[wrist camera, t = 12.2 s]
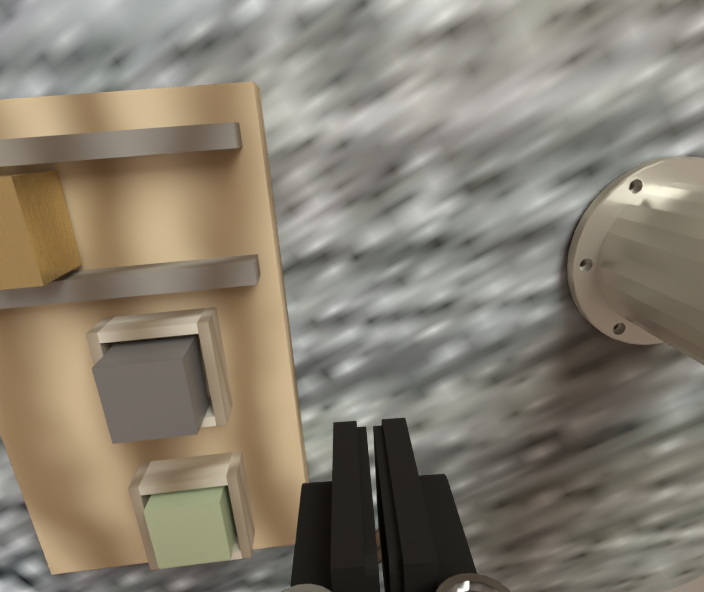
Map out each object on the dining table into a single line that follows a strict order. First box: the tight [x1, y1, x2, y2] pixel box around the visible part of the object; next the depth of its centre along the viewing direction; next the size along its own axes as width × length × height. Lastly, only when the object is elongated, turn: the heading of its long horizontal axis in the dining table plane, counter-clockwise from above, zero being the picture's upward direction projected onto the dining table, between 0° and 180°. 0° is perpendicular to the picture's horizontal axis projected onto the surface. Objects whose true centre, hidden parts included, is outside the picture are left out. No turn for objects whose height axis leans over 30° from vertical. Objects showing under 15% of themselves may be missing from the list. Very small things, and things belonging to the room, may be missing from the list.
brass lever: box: [0, 170, 82, 290], centre depth 23 cm, size 2×5×4 cm, turn 4°
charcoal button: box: [92, 335, 209, 444], centre depth 26 cm, size 4×4×3 cm
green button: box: [144, 485, 237, 569], centre depth 30 cm, size 4×4×3 cm
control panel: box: [0, 82, 309, 574], centre depth 29 cm, size 18×30×5 cm, turn 4°
